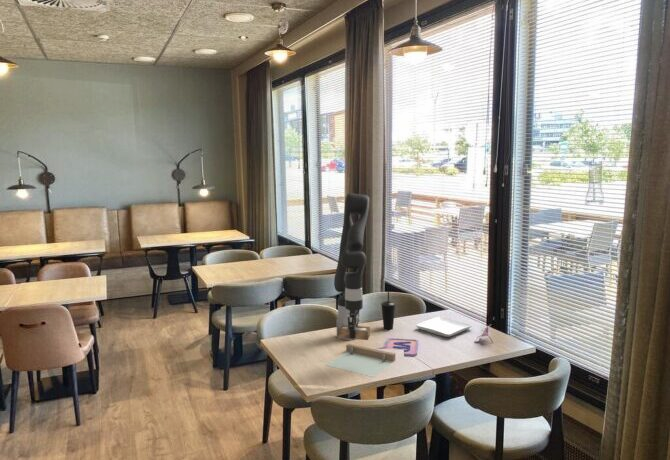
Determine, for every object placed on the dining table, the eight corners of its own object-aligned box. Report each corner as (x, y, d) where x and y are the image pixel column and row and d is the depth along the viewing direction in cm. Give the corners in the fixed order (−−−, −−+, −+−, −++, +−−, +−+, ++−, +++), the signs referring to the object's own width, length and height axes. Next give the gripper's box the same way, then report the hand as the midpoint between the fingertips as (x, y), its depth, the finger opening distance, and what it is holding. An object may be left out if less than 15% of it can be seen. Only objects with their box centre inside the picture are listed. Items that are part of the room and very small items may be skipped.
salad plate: (439, 321, 280) (439, 315, 280) (472, 330, 265) (473, 324, 264) (414, 330, 266) (414, 324, 266) (448, 341, 251) (449, 334, 250)
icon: (377, 337, 254) (418, 339, 250) (377, 340, 254) (418, 342, 250) (372, 351, 235) (416, 354, 231) (372, 354, 236) (416, 357, 232)
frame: (337, 337, 218) (337, 328, 218) (340, 333, 224) (340, 324, 223) (367, 340, 216) (367, 331, 215) (369, 335, 221) (369, 326, 220)
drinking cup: (391, 331, 264) (391, 294, 261) (378, 329, 268) (378, 292, 265) (398, 327, 270) (398, 290, 267) (385, 325, 274) (385, 288, 271)
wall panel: (325, 367, 222) (324, 358, 221) (348, 351, 238) (348, 343, 238) (374, 379, 209) (374, 370, 208) (395, 362, 226) (395, 353, 225)
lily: (490, 338, 256) (481, 321, 257) (506, 336, 246) (496, 318, 246) (474, 350, 250) (465, 332, 251) (490, 348, 240) (480, 330, 240)
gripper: (359, 303, 209) (359, 342, 212) (365, 293, 223) (365, 330, 226) (341, 302, 211) (341, 341, 214) (348, 292, 225) (348, 329, 227)
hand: (353, 335), depth 220 cm, fingers closed on frame, 5 cm apart
